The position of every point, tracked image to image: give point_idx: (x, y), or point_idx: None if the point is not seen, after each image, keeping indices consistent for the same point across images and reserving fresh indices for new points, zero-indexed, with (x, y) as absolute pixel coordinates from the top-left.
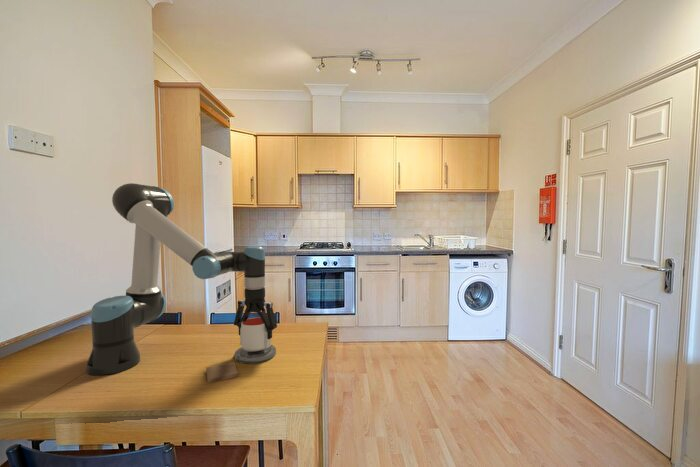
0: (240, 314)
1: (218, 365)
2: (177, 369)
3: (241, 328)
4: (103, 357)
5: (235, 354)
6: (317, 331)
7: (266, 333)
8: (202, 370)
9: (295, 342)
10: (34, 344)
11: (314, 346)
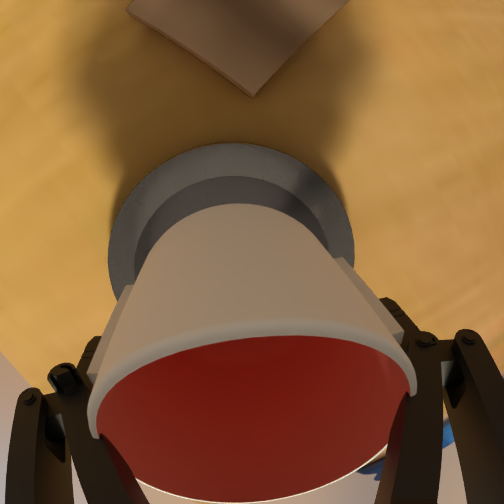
0: (475, 442)
1: (310, 29)
2: (459, 13)
3: (367, 304)
4: None
5: (320, 182)
6: None
7: (92, 358)
8: (368, 8)
9: None
10: None
11: None
